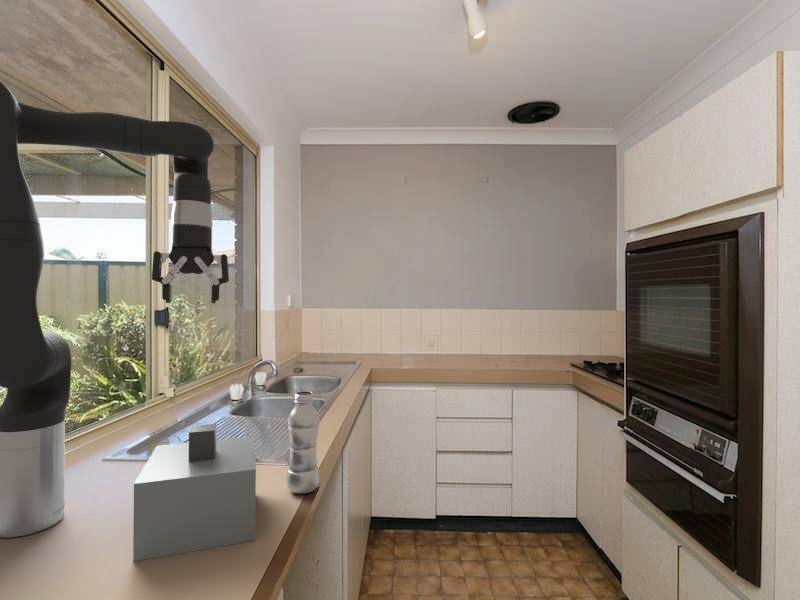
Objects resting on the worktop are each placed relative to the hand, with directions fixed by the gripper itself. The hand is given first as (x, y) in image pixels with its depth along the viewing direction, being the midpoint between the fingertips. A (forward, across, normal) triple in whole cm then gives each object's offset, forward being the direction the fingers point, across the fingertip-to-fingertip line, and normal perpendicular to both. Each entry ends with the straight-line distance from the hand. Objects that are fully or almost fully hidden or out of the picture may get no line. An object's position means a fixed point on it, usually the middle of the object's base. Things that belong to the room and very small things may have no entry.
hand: (191, 303), depth 89 cm
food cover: (+38, +4, -17) cm, 42 cm away
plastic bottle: (+38, +22, -10) cm, 45 cm away
